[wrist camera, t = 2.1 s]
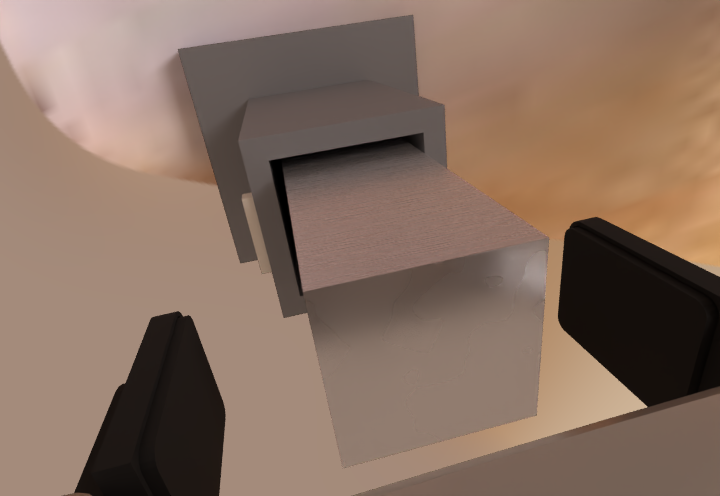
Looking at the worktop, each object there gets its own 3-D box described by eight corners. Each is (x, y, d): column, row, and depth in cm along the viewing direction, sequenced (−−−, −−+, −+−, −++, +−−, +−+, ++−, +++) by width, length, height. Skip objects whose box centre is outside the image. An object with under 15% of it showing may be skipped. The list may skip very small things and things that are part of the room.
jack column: (352, 103, 26) (551, 234, 8) (362, 178, 28) (538, 416, 10) (273, 116, 25) (299, 290, 7) (289, 192, 27) (340, 470, 10)
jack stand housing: (405, 16, 26) (529, -9, 14) (420, 216, 32) (517, 322, 20) (182, 49, 24) (103, 53, 12) (241, 253, 30) (227, 392, 18)
